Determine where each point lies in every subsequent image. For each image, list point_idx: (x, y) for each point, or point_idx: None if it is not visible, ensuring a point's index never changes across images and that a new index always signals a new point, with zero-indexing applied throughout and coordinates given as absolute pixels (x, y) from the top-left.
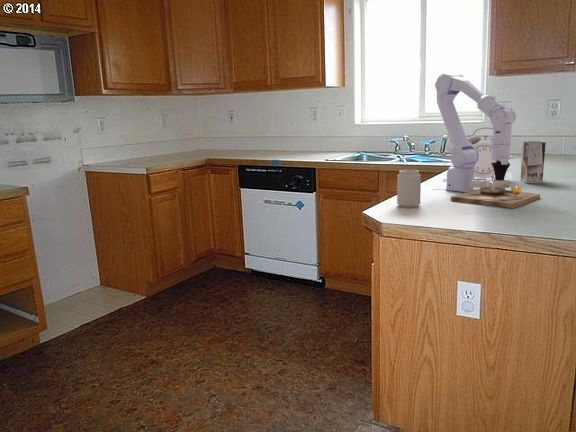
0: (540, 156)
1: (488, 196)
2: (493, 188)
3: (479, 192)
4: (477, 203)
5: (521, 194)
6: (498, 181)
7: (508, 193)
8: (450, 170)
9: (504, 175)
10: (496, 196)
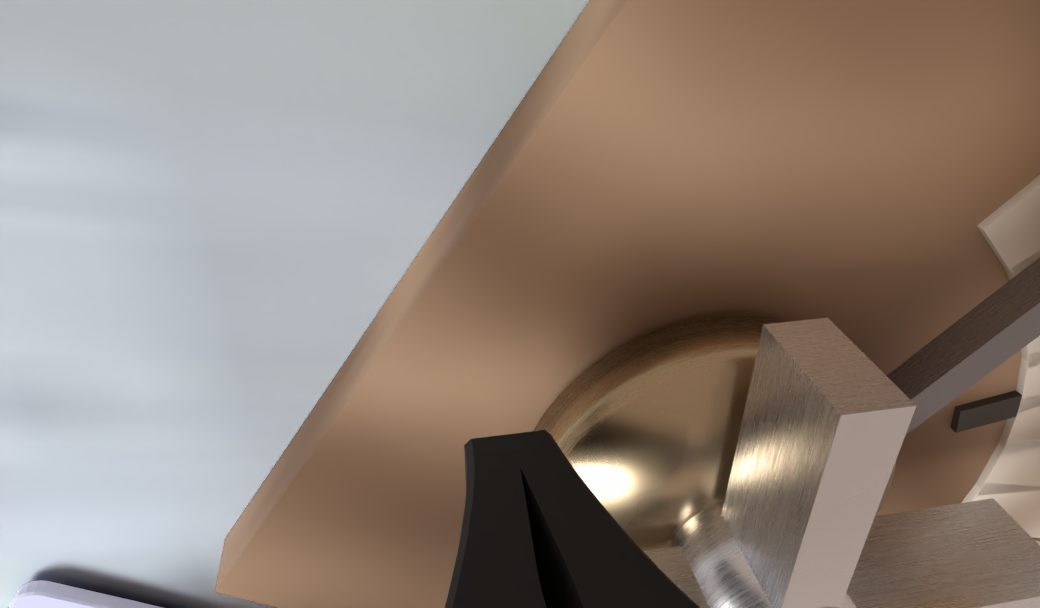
0: None
1: (907, 490)
2: (1007, 534)
3: None
4: None
5: (898, 60)
6: (851, 550)
7: (760, 259)
8: None
9: (632, 545)
10: (975, 422)
